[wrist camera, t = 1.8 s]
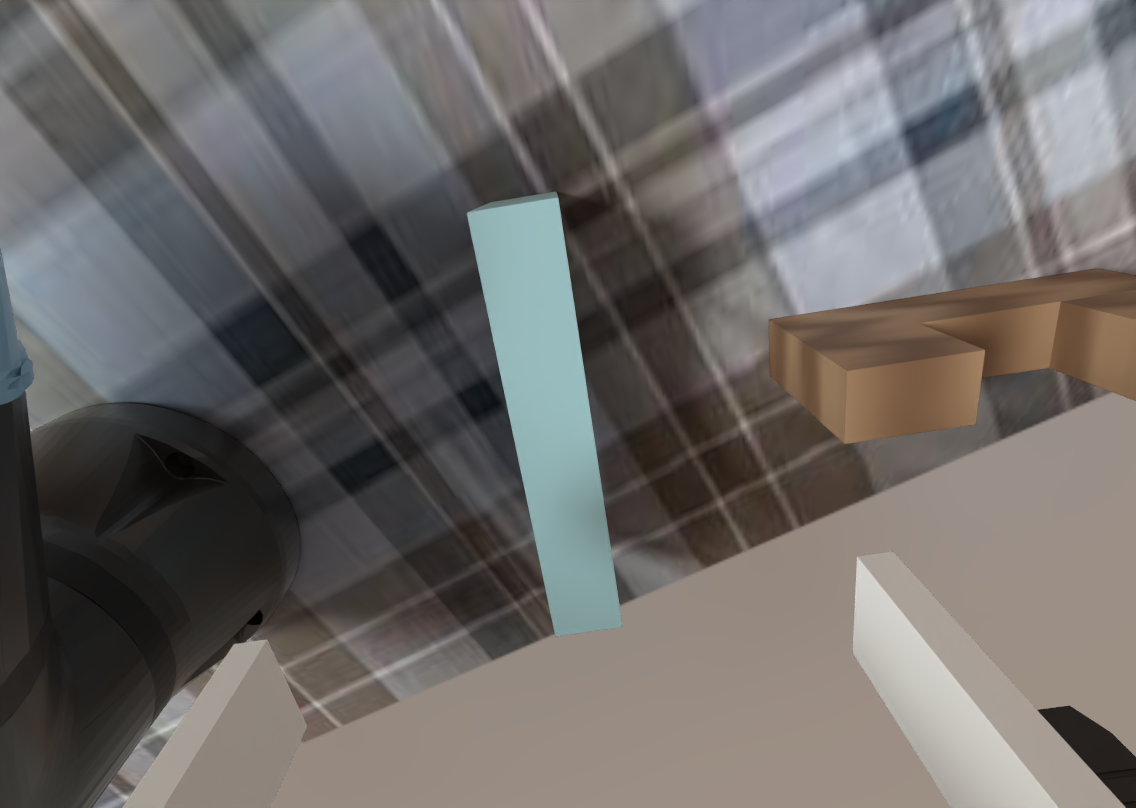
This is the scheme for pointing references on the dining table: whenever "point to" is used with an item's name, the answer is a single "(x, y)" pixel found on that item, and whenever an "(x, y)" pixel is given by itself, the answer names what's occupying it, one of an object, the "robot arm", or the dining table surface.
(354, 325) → the dining table surface
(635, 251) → the dining table surface
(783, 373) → the brown u-shaped block
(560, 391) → the teal bridge block
